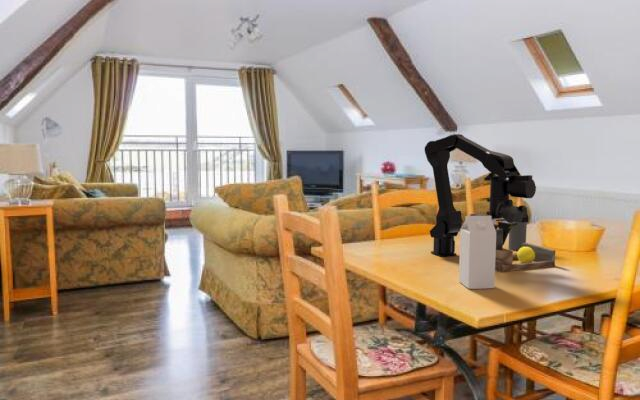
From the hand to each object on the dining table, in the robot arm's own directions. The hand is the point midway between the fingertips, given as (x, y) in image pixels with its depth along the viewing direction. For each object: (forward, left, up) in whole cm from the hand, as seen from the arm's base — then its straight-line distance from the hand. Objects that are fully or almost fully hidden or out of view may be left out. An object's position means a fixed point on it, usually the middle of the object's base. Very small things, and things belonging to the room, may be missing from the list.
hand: (497, 245), depth 157 cm
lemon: (+11, 0, -7) cm, 13 cm away
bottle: (+24, +18, -7) cm, 31 cm away
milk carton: (-20, -16, -7) cm, 27 cm away
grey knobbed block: (0, 0, -6) cm, 6 cm away
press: (+6, 0, -6) cm, 9 cm away
